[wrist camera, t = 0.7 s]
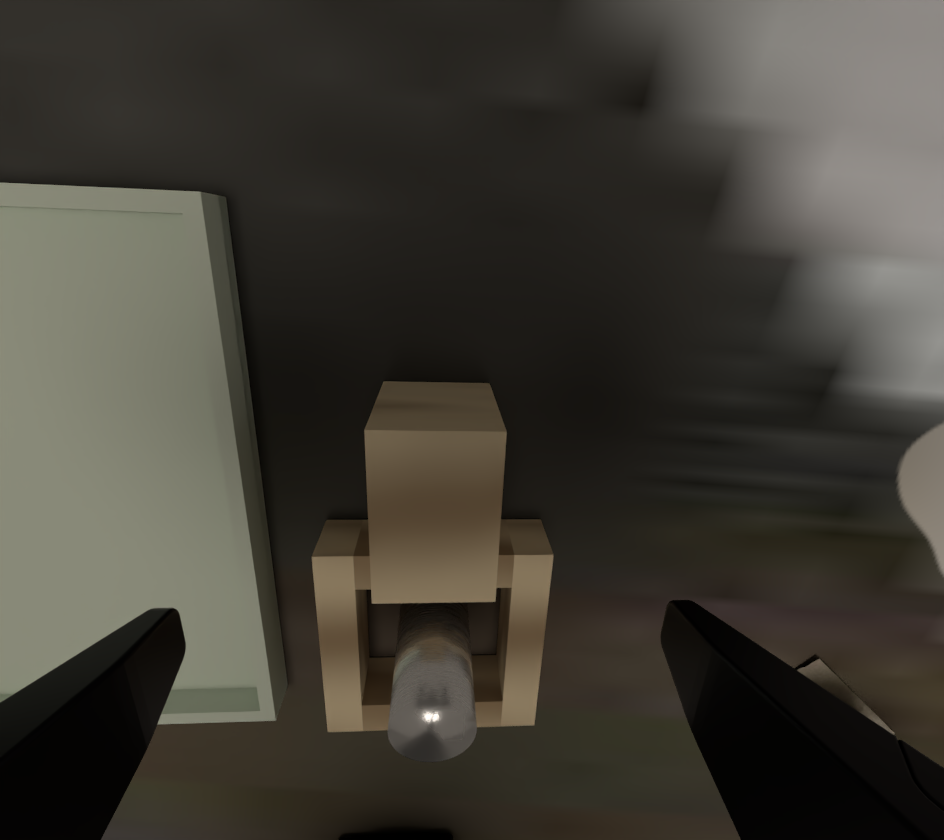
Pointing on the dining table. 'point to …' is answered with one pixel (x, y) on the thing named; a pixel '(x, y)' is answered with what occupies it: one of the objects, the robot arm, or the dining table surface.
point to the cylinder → (432, 683)
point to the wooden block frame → (432, 553)
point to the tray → (131, 444)
